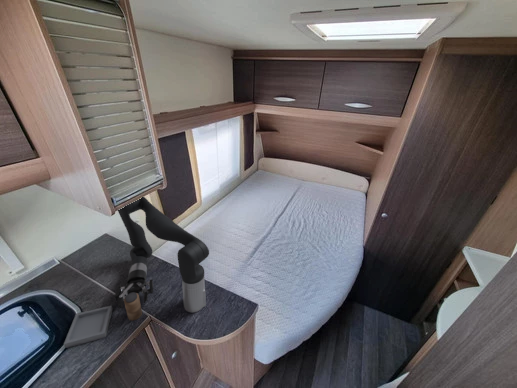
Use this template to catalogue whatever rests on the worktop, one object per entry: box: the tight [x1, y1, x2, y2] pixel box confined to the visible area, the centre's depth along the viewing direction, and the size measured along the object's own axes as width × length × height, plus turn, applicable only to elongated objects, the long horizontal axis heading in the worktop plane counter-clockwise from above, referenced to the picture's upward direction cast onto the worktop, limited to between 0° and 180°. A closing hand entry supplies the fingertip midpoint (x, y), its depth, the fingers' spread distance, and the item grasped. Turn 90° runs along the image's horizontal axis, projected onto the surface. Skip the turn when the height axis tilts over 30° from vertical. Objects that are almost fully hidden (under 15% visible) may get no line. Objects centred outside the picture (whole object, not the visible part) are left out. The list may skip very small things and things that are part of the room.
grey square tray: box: [63, 305, 113, 349], centre depth 80 cm, size 12×12×2 cm
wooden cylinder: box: [123, 292, 143, 322], centre depth 85 cm, size 5×5×11 cm
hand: (132, 304), depth 84 cm, fingers open, 8 cm apart
